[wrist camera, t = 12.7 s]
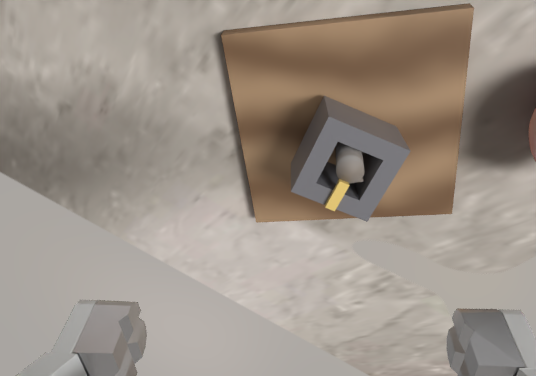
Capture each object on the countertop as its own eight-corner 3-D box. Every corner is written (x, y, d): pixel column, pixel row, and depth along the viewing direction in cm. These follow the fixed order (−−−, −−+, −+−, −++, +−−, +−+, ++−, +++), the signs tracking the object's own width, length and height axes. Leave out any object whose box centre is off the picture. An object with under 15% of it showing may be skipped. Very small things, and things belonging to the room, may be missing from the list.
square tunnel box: (324, 95, 37) (329, 118, 32) (396, 126, 37) (411, 153, 33) (290, 163, 39) (290, 194, 35) (358, 190, 40) (368, 224, 36)
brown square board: (223, 30, 36) (204, 63, 30) (469, 3, 33) (500, 33, 27) (257, 214, 46) (247, 266, 40) (448, 205, 43) (468, 259, 37)
